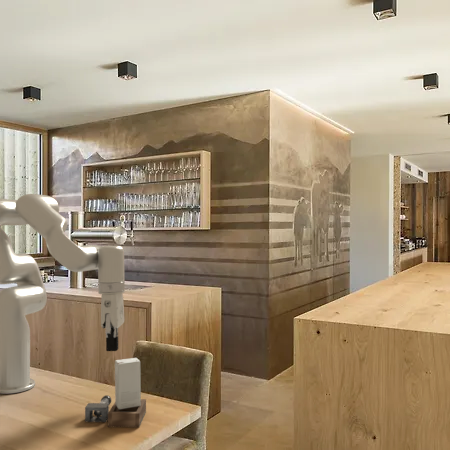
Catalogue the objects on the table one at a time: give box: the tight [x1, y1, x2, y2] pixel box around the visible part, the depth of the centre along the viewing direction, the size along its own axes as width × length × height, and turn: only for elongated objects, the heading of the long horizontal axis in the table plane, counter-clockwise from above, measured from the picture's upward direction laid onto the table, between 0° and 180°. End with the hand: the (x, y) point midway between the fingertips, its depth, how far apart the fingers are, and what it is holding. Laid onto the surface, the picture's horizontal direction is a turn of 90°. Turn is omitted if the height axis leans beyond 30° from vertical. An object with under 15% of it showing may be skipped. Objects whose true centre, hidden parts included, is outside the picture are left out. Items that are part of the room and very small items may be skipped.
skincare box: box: [114, 357, 142, 409], centre depth 126 cm, size 6×4×12 cm
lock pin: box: [93, 395, 112, 417], centre depth 131 cm, size 3×9×3 cm, turn 0°
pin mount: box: [84, 402, 110, 423], centre depth 126 cm, size 5×3×4 cm, turn 90°
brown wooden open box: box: [107, 398, 147, 428], centre depth 126 cm, size 8×10×4 cm
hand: (112, 350), depth 140 cm, fingers closed
